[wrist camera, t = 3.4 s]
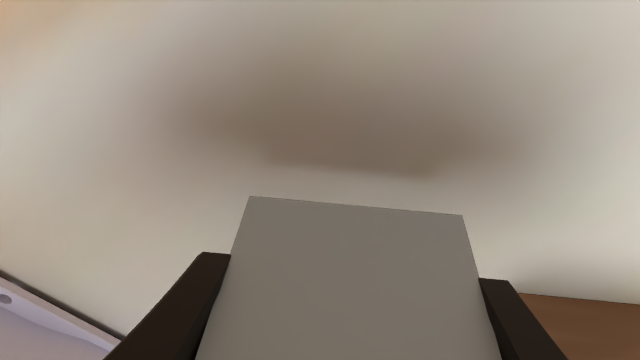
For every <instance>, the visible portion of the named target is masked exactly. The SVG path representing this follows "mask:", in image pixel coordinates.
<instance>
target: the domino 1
mask: <svg viewBox="0 0 640 360" xmlns="http://www.w3.org/2000/svg"><path fill="white" fill-rule="evenodd" d="M230 255H232V256H231V259H230V262H229V265H228V268H227V271H226V274H225V277H224V280H223V283H222V286H221V289H220V292H219V294H218V296H217V298H216V300H215V302H214V305H213V307H212V310H211V313H210V316H209V319H208V322H207V325H206V328H205V331H204V334H203V337H202V340H201V343H200V346H199V349H198V352H197V355H196V358H195V360H502V358H501V354H500V351H499V347H498V343H497V340H496V336H495V333H494V330H493V327H492V325H491V322H490V320H489V317H488V314H487V310H486V306H485V303H484V299H483V295H482V292H481V288H480V284H479V280H478V278H479V275H478V271H477V267H476V264H475V260H474V257H473V253H472V249H471V246H470V242H469V238H468V235H467V231H466V228H465V224H464V220H463V217H462V215H453V214H442V213H431V212H421V211H410V210H399V209H388V208H377V207H366V206H355V205H344V204H333V203H322V202H311V201H300V200H289V199H278V198H267V197H256V196H249V199H248V202H247V205H246V208H245V211H244V214H243V217H242V220H241V223H240V226H239V229H238V232H237V235H236V238H235V241H234V244H233V247H232V250H231V253H230Z"/></svg>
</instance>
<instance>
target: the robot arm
mask: <svg viewBox="0 0 640 360" xmlns="http://www.w3.org/2000/svg"><path fill="white" fill-rule="evenodd" d="M231 256H232V255H230V254H221V253H210V252H202V253H201V254H199V255H198V256H197V257H196V259H195V260H194V261H193V262H192V263H191V265H190V266H189V267H188V268H187V270H186V271H185V272H184V273H183V274H182V276H181V277H180V278H179V279H178V280H177V282H176V283H175V284H174V285H173V286H172V287H171V289H170V290H169V291H168V292H167V293H166V294H165V295H164V297H163V298H162V299H161V300H160V301H159V302H158V303H157V304H156V305H155V306H154V308H153V309H152V310H151V311H150V312H149V313H148V314H147V315H146V316H145V317H144V318H143V319H142V320H141V322H140V323H139V324H138V325H137V326H136V327H135V328H134V329H133V330H132V331H131V332H130V333H129V334H128V335H127V336H126V337H125V338H124V339H123V340H122V341H121V340H119V339H117V338H115V337H113V336H111V335H109V334H107V333H105V332H104V331H102V330H100V329H98V328H96V327H94V326H92V325H90V324H88V323H87V322H85V321H83V320H81V319H79V318H77V317H75V316H73V315H71V314H69V313H68V312H66V311H64V310H62V309H60V308H58V307H56V306H54V305H52V304H51V303H49V302H47V301H45V300H43V299H41V298H39V297H37V296H35V295H33V294H32V293H30V292H28V291H26V290H24V289H22V288H20V287H18V286H16V285H15V284H13V283H11V282H9V281H7V280H5V279H3V278H1V277H0V360H195V358H196V355H197V352H198V349H199V346H200V343H201V340H202V337H203V334H204V331H205V328H206V325H207V322H208V319H209V316H210V313H211V310H212V307H213V305H214V302H215V300H216V298H217V296H218V294H219V292H220V289H221V286H222V283H223V280H224V277H225V274H226V271H227V268H228V265H229V262H230V259H231ZM478 280H479V284H480V288H481V292H482V295H483V299H484V303H485V306H486V310H487V314H488V317H489V320H490V322H491V325H492V327H493V330H494V333H495V336H496V340H497V343H498V347H499V351H500V354H501V358H502V360H569V359H568V358H567V357H566V356H565V354H564V353H563V352H562V351H561V349H560V348H559V347H558V346H557V344H556V343H555V342H554V341H553V339H552V338H551V337H550V335H549V334H548V333H547V331H546V330H545V329H544V328H543V326H542V325H541V324H540V322H539V321H538V320H537V318H536V317H535V316H534V314H533V313H532V312H531V310H530V309H529V308H528V306H527V305H526V304H525V302H524V301H523V300H522V298H521V297H520V296H519V294H518V293H517V292H516V291H515V289H514V288H513V287H512V285H511V284H510V283H509V282H508V281H506V280H495V279H485V278H478Z"/></svg>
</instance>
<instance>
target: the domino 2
mask: <svg viewBox="0 0 640 360" xmlns="http://www.w3.org/2000/svg"><path fill="white" fill-rule="evenodd" d="M518 294H519V296H520V297H521V298H522V300H523V301H524V302H525V304H526V305H527V306H528V308H529V309H530V310H531V312H532V313H533V314H534V316H535V317H536V318H537V320H538V321H539V322H540V324H541V325H542V326H543V328H544V329H545V330H546V331H547V333H548V334H549V335H550V337H551V338H552V339H553V341H554V342H555V343H556V344H557V346H558V347H559V348H560V349H561V351H562V352H563V353H564V354H565V356H566V357H567V358H568V359H569V360H640V305H635V304H625V303H615V302H605V301H594V300H584V299H574V298H564V297H553V296H543V295H533V294H523V293H518Z"/></svg>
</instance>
